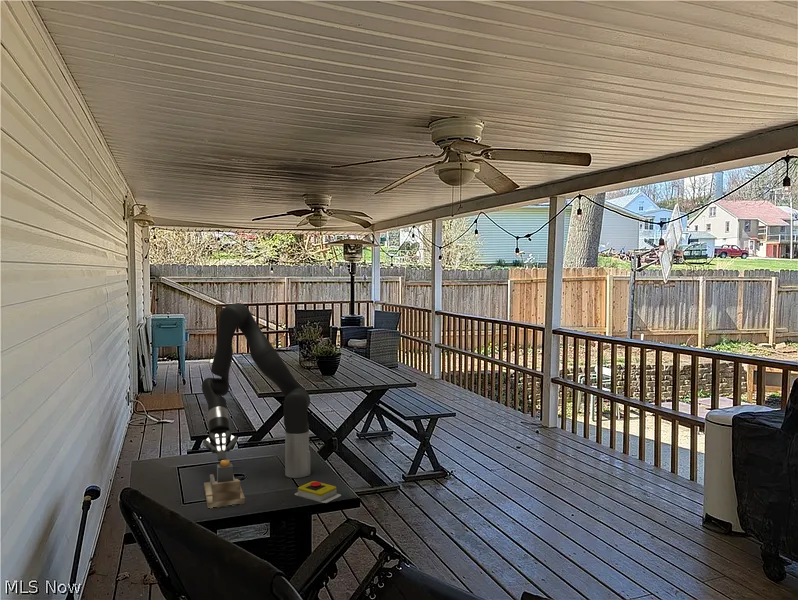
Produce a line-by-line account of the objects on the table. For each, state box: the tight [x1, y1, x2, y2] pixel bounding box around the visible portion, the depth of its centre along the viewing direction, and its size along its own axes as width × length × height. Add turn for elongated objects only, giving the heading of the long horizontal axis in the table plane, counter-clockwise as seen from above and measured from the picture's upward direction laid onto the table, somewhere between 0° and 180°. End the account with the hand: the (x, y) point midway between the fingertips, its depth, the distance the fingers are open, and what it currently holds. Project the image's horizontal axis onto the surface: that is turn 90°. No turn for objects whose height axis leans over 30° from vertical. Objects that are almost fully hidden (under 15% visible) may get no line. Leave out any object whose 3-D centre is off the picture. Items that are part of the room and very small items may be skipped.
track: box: [203, 473, 246, 509], centre depth 202 cm, size 12×21×8 cm, turn 22°
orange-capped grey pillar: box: [216, 459, 234, 483], centre depth 198 cm, size 5×4×12 cm
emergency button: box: [294, 480, 342, 504], centre depth 203 cm, size 9×4×15 cm
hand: (222, 461), depth 210 cm, fingers closed
